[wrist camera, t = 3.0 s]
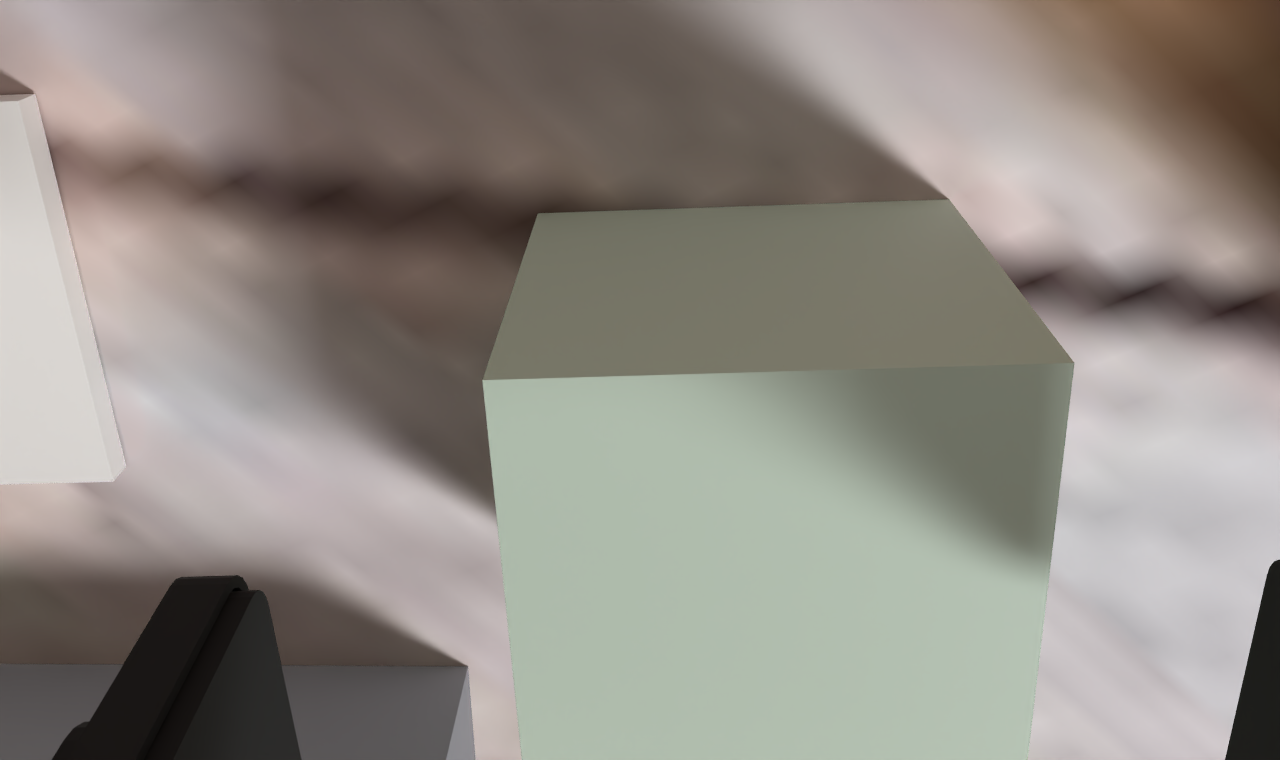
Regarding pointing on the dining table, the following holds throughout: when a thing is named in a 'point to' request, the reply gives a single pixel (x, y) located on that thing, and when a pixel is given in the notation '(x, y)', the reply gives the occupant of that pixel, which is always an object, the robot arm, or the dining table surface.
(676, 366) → the sage cube
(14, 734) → the slate base block
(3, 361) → the card
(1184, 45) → the dining table surface
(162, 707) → the robot arm
